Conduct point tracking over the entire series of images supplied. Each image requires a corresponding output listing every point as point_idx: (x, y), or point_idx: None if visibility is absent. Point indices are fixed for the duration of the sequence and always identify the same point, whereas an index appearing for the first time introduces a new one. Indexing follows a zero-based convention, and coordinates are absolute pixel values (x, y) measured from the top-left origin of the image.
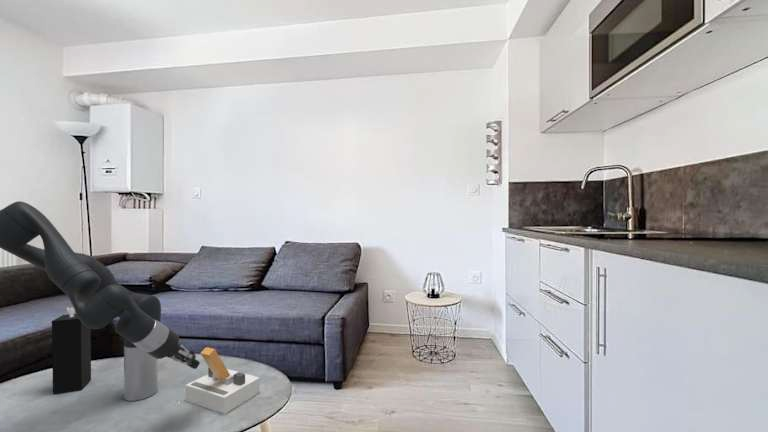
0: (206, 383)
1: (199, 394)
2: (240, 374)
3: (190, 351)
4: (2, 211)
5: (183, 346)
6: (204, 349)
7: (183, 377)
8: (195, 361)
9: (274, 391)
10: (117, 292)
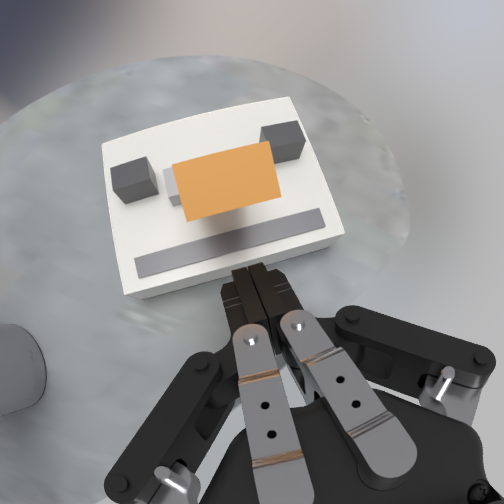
0: (177, 232)
1: (210, 274)
2: (289, 131)
3: (487, 376)
4: None
5: (399, 427)
6: (183, 185)
7: (7, 243)
8: (296, 297)
9: (307, 102)
10: None
